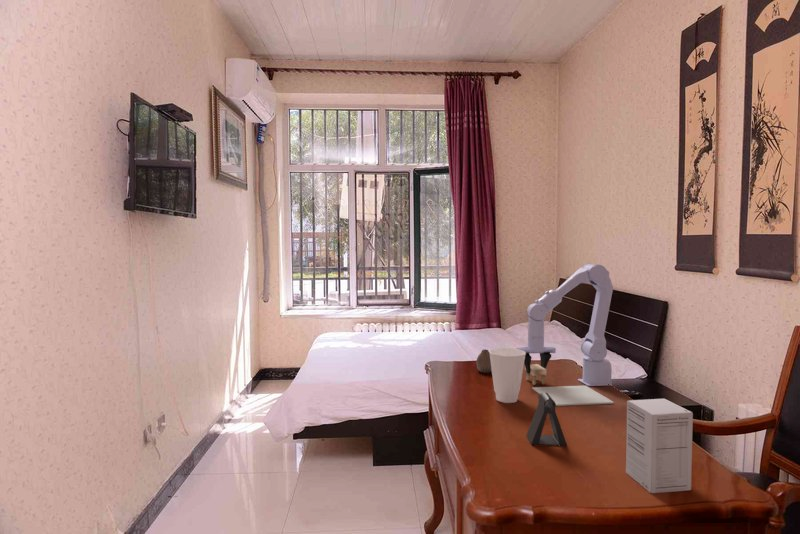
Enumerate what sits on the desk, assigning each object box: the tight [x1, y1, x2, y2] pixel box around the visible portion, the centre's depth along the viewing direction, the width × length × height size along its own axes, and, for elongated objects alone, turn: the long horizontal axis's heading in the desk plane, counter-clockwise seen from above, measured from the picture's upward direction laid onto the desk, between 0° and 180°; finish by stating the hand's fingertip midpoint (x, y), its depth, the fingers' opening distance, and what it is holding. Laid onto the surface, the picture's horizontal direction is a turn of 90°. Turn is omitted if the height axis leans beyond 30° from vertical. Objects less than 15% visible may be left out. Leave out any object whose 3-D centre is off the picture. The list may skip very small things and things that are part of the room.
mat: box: [531, 384, 615, 407], centre depth 161 cm, size 20×18×1 cm
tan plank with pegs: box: [524, 363, 548, 386], centre depth 176 cm, size 5×8×6 cm, turn 7°
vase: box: [475, 349, 492, 374], centre depth 191 cm, size 7×7×9 cm
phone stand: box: [526, 393, 568, 447], centre depth 124 cm, size 9×6×12 cm, turn 86°
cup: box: [488, 347, 526, 404], centre depth 156 cm, size 12×12×16 cm
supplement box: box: [625, 398, 694, 494], centre depth 103 cm, size 10×9×17 cm
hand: (535, 372), depth 176 cm, fingers closed on tan plank with pegs, 5 cm apart
